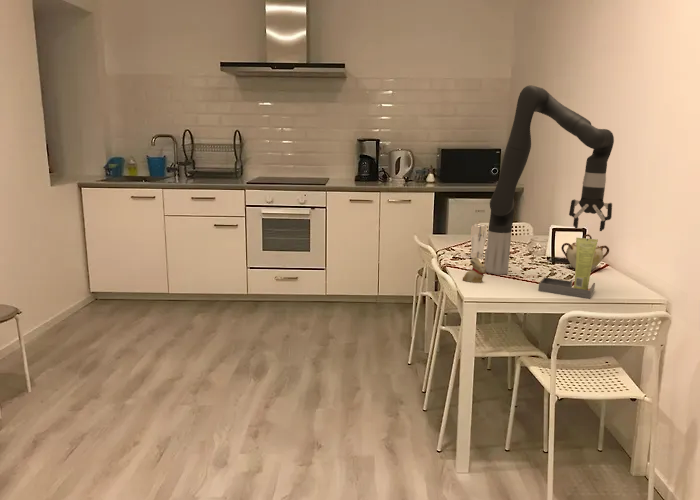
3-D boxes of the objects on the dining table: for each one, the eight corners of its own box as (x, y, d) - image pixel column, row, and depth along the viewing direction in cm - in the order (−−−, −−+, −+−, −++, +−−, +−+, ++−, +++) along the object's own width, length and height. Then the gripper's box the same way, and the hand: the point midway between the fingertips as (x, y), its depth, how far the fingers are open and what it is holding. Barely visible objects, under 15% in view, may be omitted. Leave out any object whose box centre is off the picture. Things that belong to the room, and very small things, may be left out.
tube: (581, 286, 229) (587, 236, 224) (592, 290, 224) (598, 239, 220) (570, 288, 226) (576, 237, 222) (581, 291, 222) (586, 240, 218)
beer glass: (469, 258, 272) (471, 226, 268) (468, 255, 278) (471, 223, 275) (484, 259, 270) (487, 227, 267) (484, 256, 277) (486, 224, 274)
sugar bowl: (601, 265, 265) (605, 232, 262) (612, 274, 251) (616, 238, 248) (555, 263, 268) (559, 230, 264) (563, 271, 253) (567, 236, 250)
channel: (538, 290, 223) (539, 282, 223) (544, 283, 234) (545, 276, 233) (589, 298, 215) (590, 290, 214) (594, 290, 225) (595, 283, 224)
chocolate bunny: (478, 284, 230) (480, 259, 227) (461, 280, 235) (462, 255, 233) (486, 282, 234) (488, 257, 231) (468, 277, 239) (470, 253, 237)
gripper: (616, 186, 216) (610, 230, 220) (574, 182, 223) (569, 225, 226) (613, 188, 210) (607, 233, 213) (571, 184, 216) (566, 228, 220)
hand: (588, 229), depth 220 cm, fingers open, 8 cm apart
